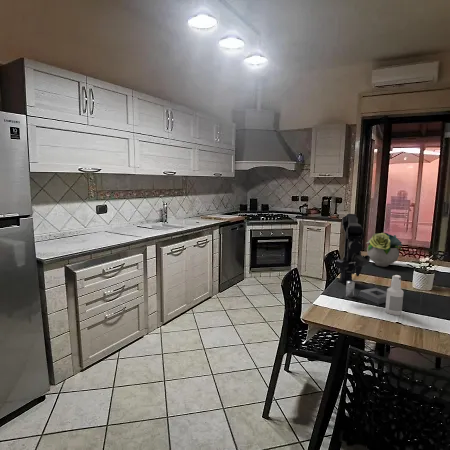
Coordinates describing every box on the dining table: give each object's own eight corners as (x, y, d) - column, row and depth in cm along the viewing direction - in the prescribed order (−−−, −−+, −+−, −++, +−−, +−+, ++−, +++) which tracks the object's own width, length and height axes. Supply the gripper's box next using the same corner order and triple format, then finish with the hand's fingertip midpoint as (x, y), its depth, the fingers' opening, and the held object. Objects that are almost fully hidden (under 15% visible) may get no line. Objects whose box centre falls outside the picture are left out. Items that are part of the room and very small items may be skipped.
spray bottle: (395, 316, 143) (399, 279, 140) (382, 311, 149) (385, 274, 146) (404, 313, 146) (408, 277, 144) (391, 308, 152) (394, 273, 150)
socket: (359, 295, 168) (359, 290, 168) (375, 292, 173) (375, 287, 173) (378, 304, 157) (378, 298, 157) (394, 300, 162) (395, 295, 162)
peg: (344, 295, 169) (345, 281, 168) (349, 294, 171) (350, 280, 170) (349, 297, 166) (350, 283, 164) (355, 296, 167) (356, 282, 166)
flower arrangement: (367, 259, 247) (369, 229, 244) (402, 264, 233) (406, 232, 229) (359, 266, 227) (362, 233, 224) (398, 272, 213) (401, 237, 209)
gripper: (351, 253, 153) (349, 284, 156) (378, 250, 161) (376, 279, 163) (335, 249, 163) (333, 277, 166) (361, 246, 171) (359, 273, 173)
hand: (351, 277), depth 167 cm, fingers open, 9 cm apart
